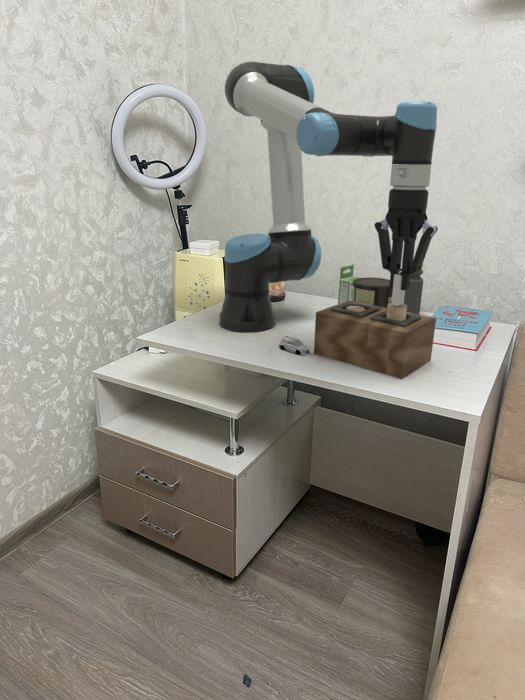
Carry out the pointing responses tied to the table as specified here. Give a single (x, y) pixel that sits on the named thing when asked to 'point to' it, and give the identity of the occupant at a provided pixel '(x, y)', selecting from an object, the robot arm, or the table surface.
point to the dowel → (396, 312)
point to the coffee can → (372, 291)
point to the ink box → (346, 284)
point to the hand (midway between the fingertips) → (397, 304)
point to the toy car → (294, 346)
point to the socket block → (374, 338)
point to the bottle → (414, 293)
